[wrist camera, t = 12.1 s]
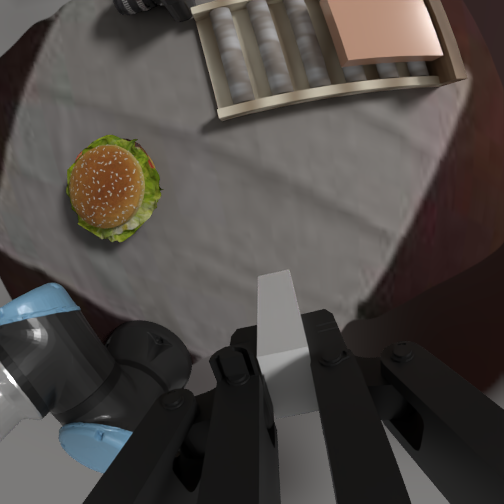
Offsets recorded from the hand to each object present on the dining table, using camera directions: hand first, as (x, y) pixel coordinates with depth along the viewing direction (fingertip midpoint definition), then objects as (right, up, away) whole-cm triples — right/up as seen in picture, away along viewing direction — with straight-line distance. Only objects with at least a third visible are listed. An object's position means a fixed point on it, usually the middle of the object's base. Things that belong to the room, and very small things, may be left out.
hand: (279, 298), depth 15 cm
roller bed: (+8, +31, +21) cm, 38 cm away
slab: (+15, +32, +17) cm, 39 cm away
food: (-20, +12, +28) cm, 36 cm away
